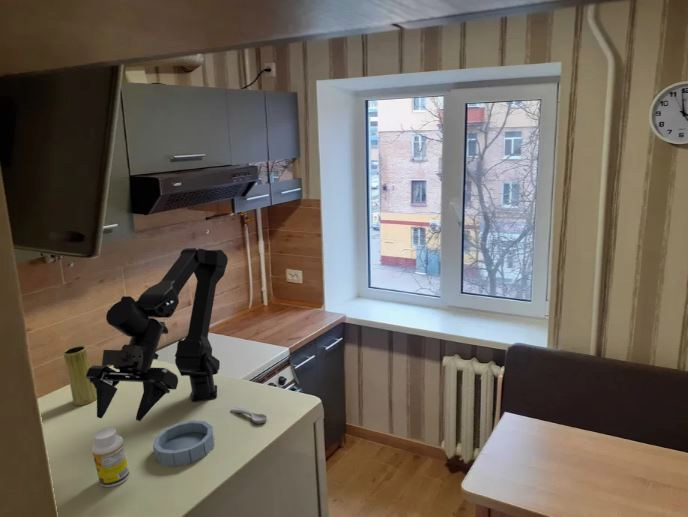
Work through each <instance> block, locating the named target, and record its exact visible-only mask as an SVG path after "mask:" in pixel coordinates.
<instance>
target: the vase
mask: <svg viewBox="0 0 688 517" xmlns="http://www.w3.org/2000/svg"><path fill="white" fill-rule="evenodd" d="M62 354H63V358H64V363H65V367H66V371H67V376H68V381H69V386H70V390H71V391H70V392H71V397H72V404H73V405H74V406H85V405H89V404H91V403H93V402H95V401H97V393H96V388H95V386H94V384H92V383H90V380H89V379H87V378H85V377H86V374H87V372H88V369H89V368H90V367H91V364H90V362H89V356H88V352H87V348H86V346H84V345H76V346H72V347H69V348H68V349H65V350H64V351H63V352H62Z"/></svg>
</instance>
